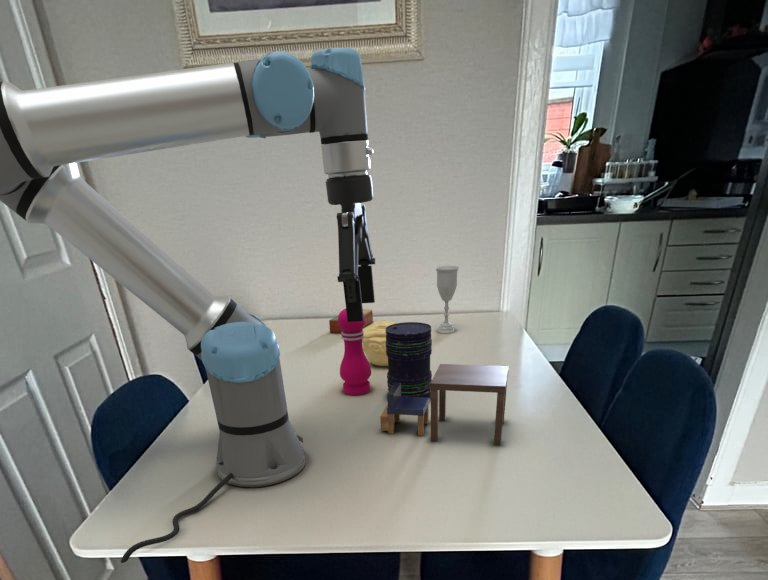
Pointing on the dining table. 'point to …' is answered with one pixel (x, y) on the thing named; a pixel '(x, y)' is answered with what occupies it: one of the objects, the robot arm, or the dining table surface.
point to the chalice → (446, 291)
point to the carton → (336, 329)
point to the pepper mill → (354, 357)
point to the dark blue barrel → (409, 358)
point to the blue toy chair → (404, 409)
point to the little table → (468, 380)
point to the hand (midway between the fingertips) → (362, 311)
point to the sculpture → (376, 342)
